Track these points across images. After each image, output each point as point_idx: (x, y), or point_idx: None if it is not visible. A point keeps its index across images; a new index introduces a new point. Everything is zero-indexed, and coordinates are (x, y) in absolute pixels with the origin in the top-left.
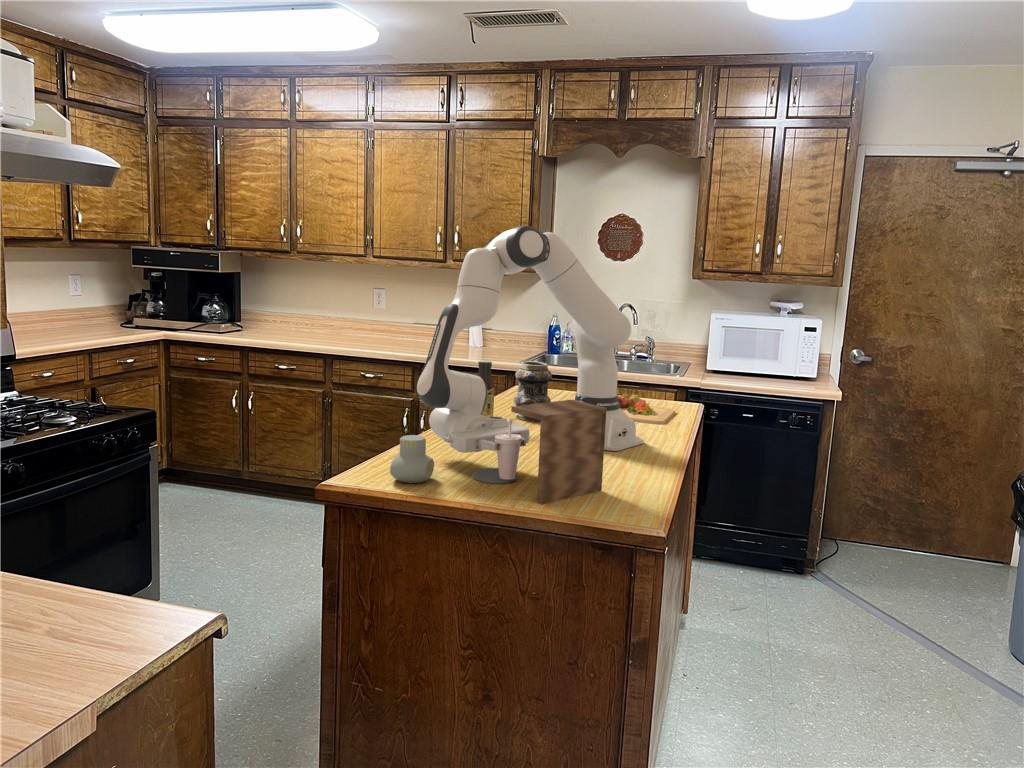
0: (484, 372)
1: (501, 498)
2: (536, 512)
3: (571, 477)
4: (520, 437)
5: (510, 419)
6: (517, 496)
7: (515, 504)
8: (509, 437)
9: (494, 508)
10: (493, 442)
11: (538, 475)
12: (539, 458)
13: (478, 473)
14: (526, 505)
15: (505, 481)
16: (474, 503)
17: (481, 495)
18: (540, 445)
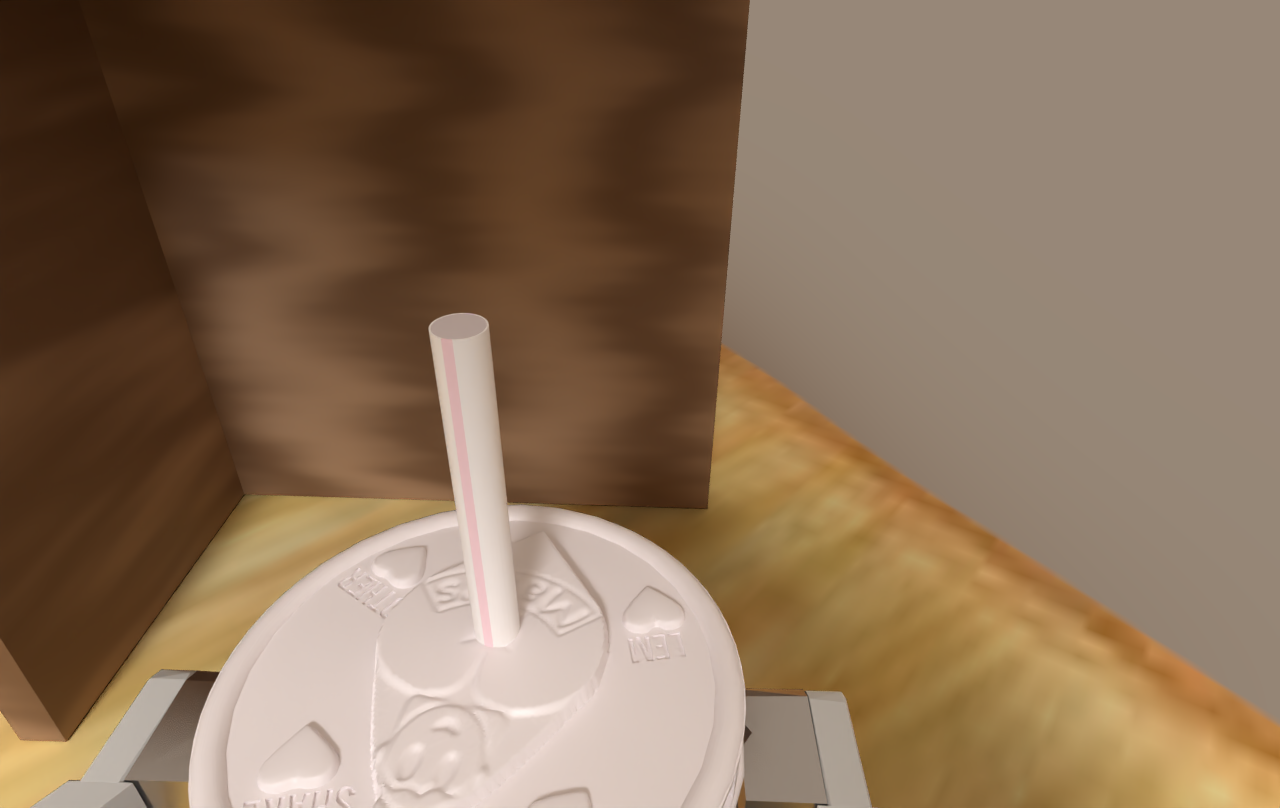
0: None
1: (876, 655)
2: (801, 436)
3: None
4: (345, 573)
5: (484, 322)
6: (742, 631)
7: (842, 542)
8: (551, 590)
9: (1001, 552)
10: (818, 760)
11: (719, 361)
12: (727, 252)
13: None
14: (790, 508)
15: None
16: (1119, 670)
17: (1011, 786)
18: (736, 153)
